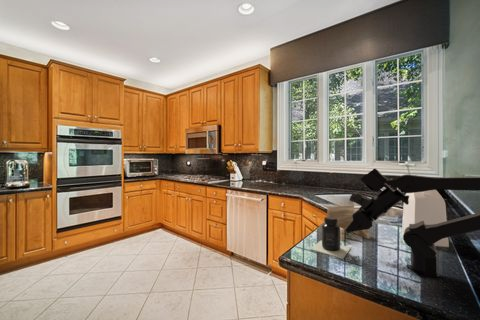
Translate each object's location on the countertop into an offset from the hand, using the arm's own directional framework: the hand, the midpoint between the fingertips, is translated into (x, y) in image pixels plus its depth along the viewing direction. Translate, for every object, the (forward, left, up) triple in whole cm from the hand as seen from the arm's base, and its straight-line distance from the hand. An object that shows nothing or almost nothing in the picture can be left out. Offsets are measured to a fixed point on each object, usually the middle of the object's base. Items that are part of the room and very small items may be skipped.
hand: (349, 227), depth 80 cm
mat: (+3, +6, -10) cm, 12 cm away
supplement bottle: (+3, +6, -9) cm, 11 cm away
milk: (+18, -38, -10) cm, 43 cm away
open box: (+20, -7, -10) cm, 24 cm away
